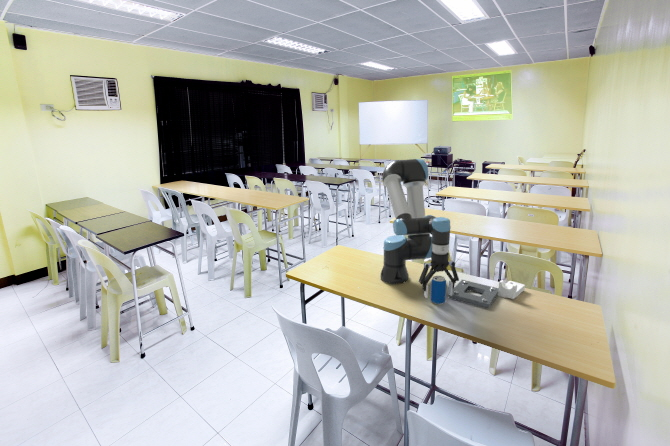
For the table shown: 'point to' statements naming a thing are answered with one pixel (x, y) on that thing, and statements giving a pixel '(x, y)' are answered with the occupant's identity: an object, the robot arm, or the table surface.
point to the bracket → (510, 289)
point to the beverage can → (438, 289)
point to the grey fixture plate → (483, 301)
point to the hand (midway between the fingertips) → (438, 295)
